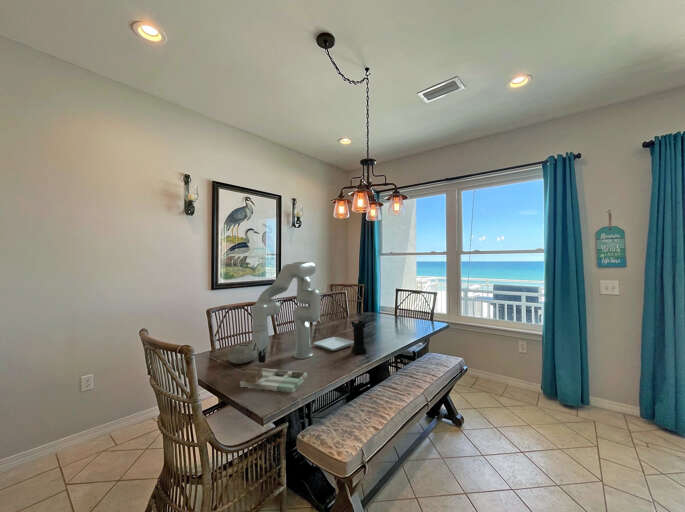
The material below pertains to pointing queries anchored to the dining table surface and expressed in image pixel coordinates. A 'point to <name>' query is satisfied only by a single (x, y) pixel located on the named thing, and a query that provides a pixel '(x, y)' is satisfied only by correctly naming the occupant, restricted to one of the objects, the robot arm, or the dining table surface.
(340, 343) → the salad plate
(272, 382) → the trap box
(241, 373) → the dining table surface
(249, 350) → the grey stone
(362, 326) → the chess piece
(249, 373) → the walnut block
